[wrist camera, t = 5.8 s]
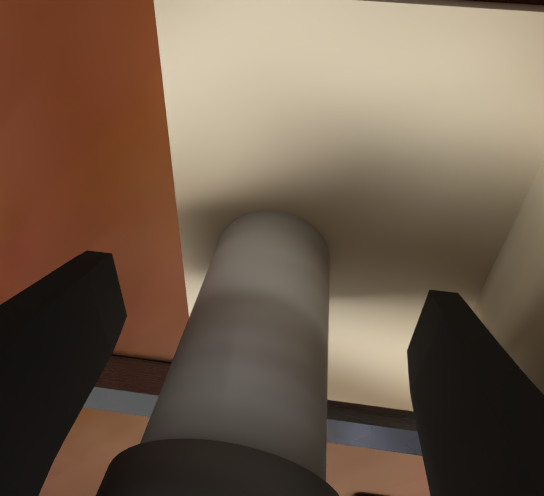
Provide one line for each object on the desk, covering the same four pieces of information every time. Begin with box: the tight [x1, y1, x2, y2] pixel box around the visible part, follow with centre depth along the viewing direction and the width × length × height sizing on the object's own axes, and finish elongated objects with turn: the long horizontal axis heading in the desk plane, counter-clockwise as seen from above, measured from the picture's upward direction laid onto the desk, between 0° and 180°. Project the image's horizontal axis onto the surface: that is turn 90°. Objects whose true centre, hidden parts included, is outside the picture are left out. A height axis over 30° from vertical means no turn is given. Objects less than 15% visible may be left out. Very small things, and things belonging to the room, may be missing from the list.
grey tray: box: [83, 355, 422, 456], centre depth 10 cm, size 18×28×4 cm, turn 88°
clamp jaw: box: [96, 0, 544, 496], centre depth 8 cm, size 12×11×8 cm
